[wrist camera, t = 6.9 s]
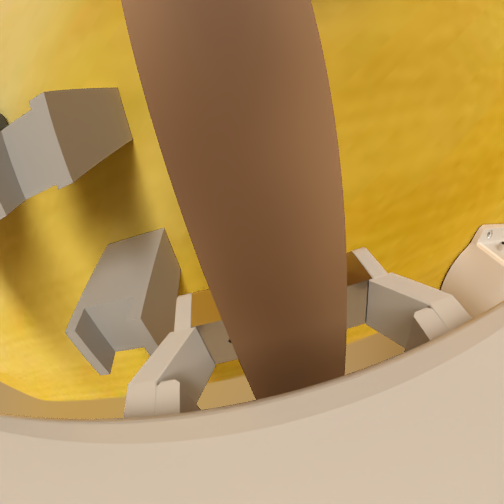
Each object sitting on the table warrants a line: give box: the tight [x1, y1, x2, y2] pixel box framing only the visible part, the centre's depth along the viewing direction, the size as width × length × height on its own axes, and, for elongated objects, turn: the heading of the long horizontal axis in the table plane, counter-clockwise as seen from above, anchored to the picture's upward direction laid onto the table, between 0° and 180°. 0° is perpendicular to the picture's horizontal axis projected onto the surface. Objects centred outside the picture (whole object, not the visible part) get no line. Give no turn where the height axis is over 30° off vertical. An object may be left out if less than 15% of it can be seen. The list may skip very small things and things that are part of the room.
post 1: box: [0, 88, 133, 219], centre depth 16 cm, size 6×5×12 cm
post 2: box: [65, 228, 181, 375], centre depth 23 cm, size 6×5×12 cm
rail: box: [121, 0, 347, 400], centre depth 9 cm, size 3×22×3 cm, turn 12°
